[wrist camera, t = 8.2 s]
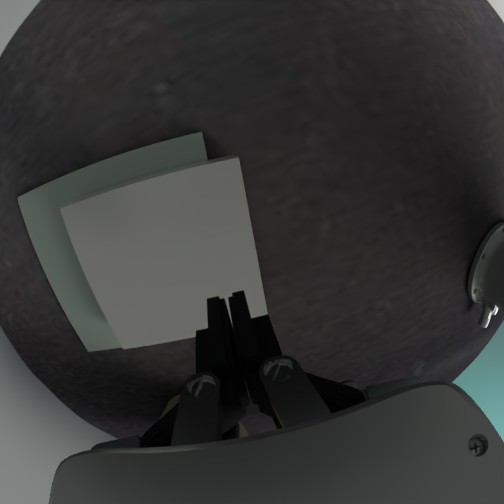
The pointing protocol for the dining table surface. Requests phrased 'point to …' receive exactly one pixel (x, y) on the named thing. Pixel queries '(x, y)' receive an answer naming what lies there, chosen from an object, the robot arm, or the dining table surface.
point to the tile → (167, 249)
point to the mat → (57, 238)
